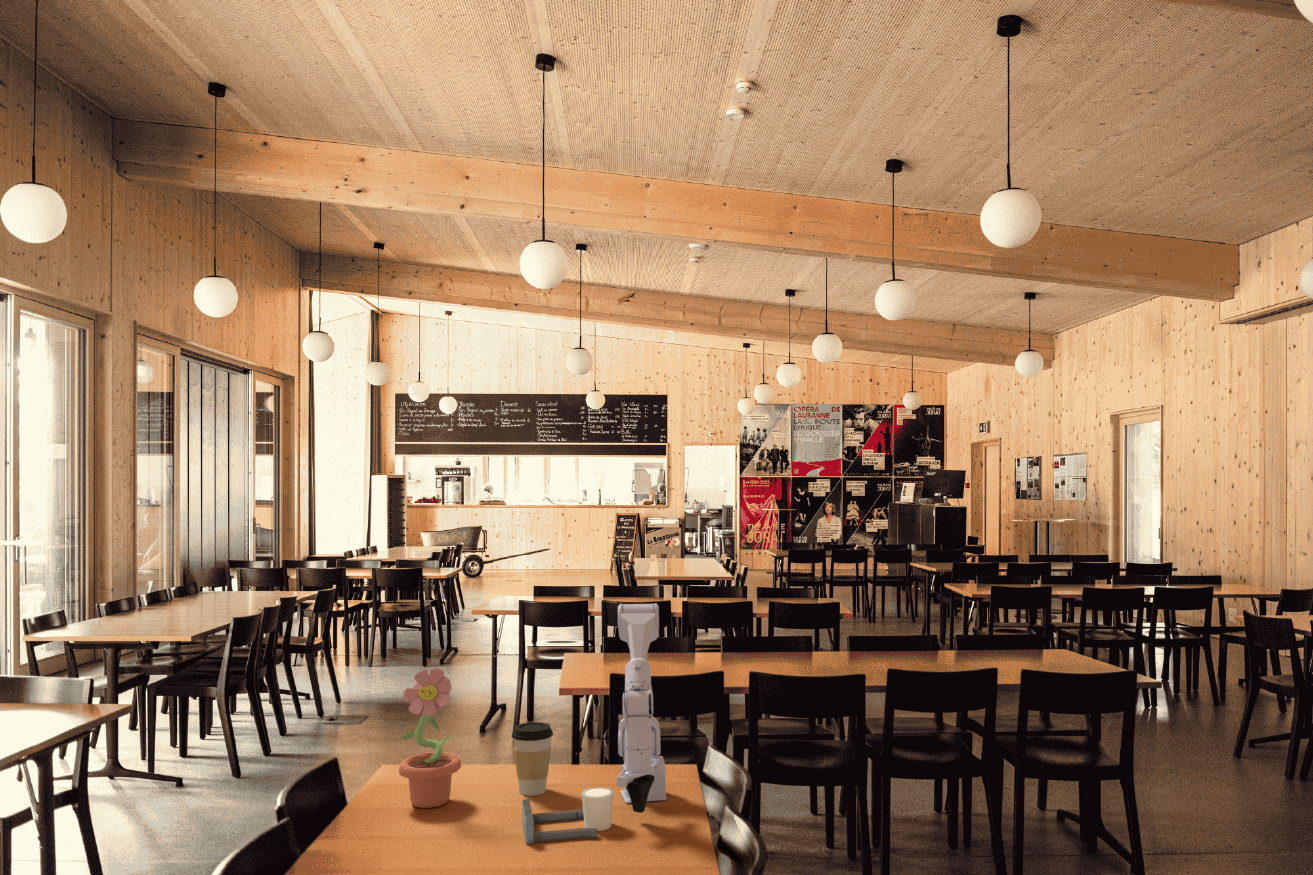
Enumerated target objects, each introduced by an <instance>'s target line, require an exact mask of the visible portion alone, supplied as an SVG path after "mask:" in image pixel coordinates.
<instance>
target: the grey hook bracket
mask: <svg viewBox="0 0 1313 875" xmlns="http://www.w3.org/2000/svg"><path fill="white" fill-rule="evenodd" d="M521 802H522V803H521V805H522V806H521V807H522V810H521V811H522V812H521V813H522V815H521V816H522V817H521V818H522V819H521V820H522V826H523V834H524V838H525V839H524V840H525V845H535V844H536V843H545V842H547V843H548V842H555V841H557V842H558V841H568V840H578V839H579V840H580V839H591V840H593V839H594V840H596V839H597V837H598V831H597V829H596V828H585V827H583V828H582V827H580V828H578V827H577V828H567V829H565V828H564V829H558V830H557V829H556V830H547V831H535V830H534V829H535V828H534V827H535V826H534V824H541V823H552V822H553V823H554V822H563V821H575V820H581V819H584V814H583V807H582V808H579V809H572V810H571V809H570V810H560V811H548V812H538V813H533V811H532V807H531V802H530V798H525V799H522V800H521Z"/></svg>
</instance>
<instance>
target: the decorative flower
mask: <svg viewBox="0 0 1313 875" xmlns="http://www.w3.org/2000/svg"><path fill="white" fill-rule="evenodd" d="M413 680H414V681H416V682H415V684H414V686H413V687H411V688H409V687H407V688H405V689H404V691H403V700H404V701H405V702H406V703H408V702H410V705H409V707H408V711H409V712H410V713H412V714H413V715H420V714H421V717H420V719H419V721H418V724H417V727H416V729H415V731H411V730H410V731H408V732H406V733H404V734H403V735H402V736H401V737H400V740H402V741H406V740H411V739H412V738H414V739H415V742H416V743H417V744H418V745H420V746H421V747H423V748H430V749H434V751H426V752H420V753H416V754H413V755H410V756H408V757H406V758H405V759H403V760H402V761H401V762H400V764H399V767H398V775H400V777H403V778H406V779H408V786H409V797H410V798H409V799H410V803H411V805H413V806H415V807H416V808H419V807H420V808H419V809H433V808H437V807H441V806H443V805H445V804H446V803H447V802H448V801H449V799H450V797H451V789H452V777H453V776H452V775H453V774H455V773H457V772H458V771H459V770H460V769H461V768H462V760H461V759H460V757H459V756H458V755H457V754H455V753H453V752H448V751H444V748H443V744H444V743H446V742H448V741H449V740H450V738H451V737H452V736H451V735H448V736H446V737H444V738H443V739H442V740H440V741H438V740H435V739H428V738H424V736H423V735H424V731H425V729H426V727H427V724H428V721H429V723H430V725H431V726H432V727H433V728H434V729H435V730H438V731H439V730H440V727H439V724H438V722H437V720H436V719H435V717H434V715H436V714H437V713H438V712H440V711H441V710H442V709H443V708H445V707H446V706H447V705H448V704H449V703H450V701H451V698H452V696H451V695H450V694H451V693H450V692H451V691H452V683H451V681H450V678H448V677H447V676H446V675H445V671H444V670H443V669H440V668H433V669H430V671H429V673H428V670H427V669H423V670H420V671H418V672H417V673H416V674H415V675H414V677H413ZM432 807H433V808H432Z"/></svg>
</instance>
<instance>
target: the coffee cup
mask: <svg viewBox="0 0 1313 875" xmlns="http://www.w3.org/2000/svg"><path fill="white" fill-rule="evenodd" d="M553 735H554V732H553V729H552V727H551V725H550V724H549V723H546V722H539V721H530V722H523V723H520V724H517V725H515V726H514V728H513V731H512V732H511V738H512V739H513V745H514V746H513V751H514V760H515V761H514V762H515V772H516V777H517V780H518V790H519V791H518V792H519V794H520V795H523V796H527V797H529V796H530V797H532V796H539V795H542V794H544V793H546V791H547V782H548V780H547V779H548V776H549V769H550V768H549V767H550V758H551V757H550V756H551V750H552V749H551V748H552V745H551V743H552V736H553Z"/></svg>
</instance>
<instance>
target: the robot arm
mask: <svg viewBox="0 0 1313 875" xmlns="http://www.w3.org/2000/svg"><path fill="white" fill-rule="evenodd" d="M659 608H660V607H659V605H658V604H657V603H656V602H655V603H633V604H632V603H631V604H630V603H624V604H623V603H619V605H618V606H617V628H618V635H619V639H620V640H621V641H622V642H626V643H627V646H628V649H629V654H630V658H629V661H628V662H627V663H626V665H625V667H624V675H625V676H624V692H623V693H622V715H623V716H622V717H623V718H622V719H621V720H620V722H619V723H618V732H617V734H618V735H617V736H618V737H617V746H618V747H617V748H618V749H617V751H618V752H617V753H618V755H619V756H620V757H622V758H623V764H622V765H620V769H621V770H622V771H621V772H620V773H619V775H617V776H616V786H617V787H621V788H624V789H621V790H620V794H621V796H622V798H623V800H624V802H625V803H626V804H631V807H632V811H633V812H635V813H640V814H642V813H644V812H645V810H646V806H647V802H655V801H656V802H657V801H666V800H667V790H666V789H667V788H666V787H667V786H666V785H667V784H666V780H667V779H666V762H665V759H664V756H662V755H661V729H660V728H661V727H660V722H659V720H658V719H657V718H656V717H655V716H653V714H654V695H653V694H654V693H653V688H652V674H651V673H652V666H651V664H650V663H649V661H648V651H649V648H650V645H651V643H652V642H655V641H656V640H657V639H658V636H659V628H660V616H659V615H660V613H659V612H660V610H659ZM650 711H651V714H650Z"/></svg>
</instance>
